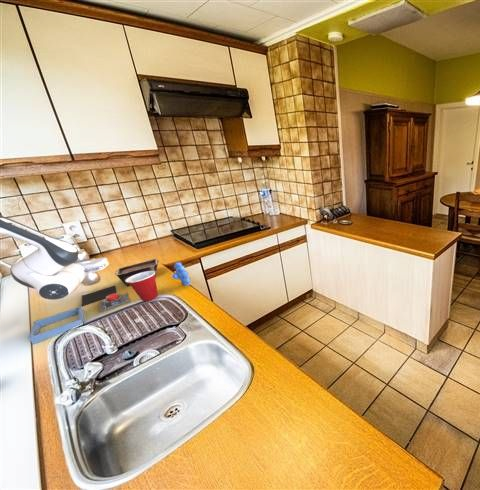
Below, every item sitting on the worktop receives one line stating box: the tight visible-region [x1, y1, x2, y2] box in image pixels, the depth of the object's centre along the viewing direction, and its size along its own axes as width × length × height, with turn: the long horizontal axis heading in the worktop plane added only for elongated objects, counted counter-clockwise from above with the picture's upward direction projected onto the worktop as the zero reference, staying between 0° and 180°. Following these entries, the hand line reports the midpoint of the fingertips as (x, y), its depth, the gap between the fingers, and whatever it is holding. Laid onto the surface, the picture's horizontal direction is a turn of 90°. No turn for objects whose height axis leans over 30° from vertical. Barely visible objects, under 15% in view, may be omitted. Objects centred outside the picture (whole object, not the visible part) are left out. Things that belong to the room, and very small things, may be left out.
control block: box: [98, 292, 131, 314], centre depth 119 cm, size 10×9×3 cm
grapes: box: [171, 261, 191, 287], centre depth 129 cm, size 12×7×12 cm, turn 50°
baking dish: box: [114, 258, 159, 287], centre depth 139 cm, size 14×18×10 cm
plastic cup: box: [125, 271, 159, 302], centre depth 120 cm, size 11×11×12 cm
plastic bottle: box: [71, 242, 101, 287], centre depth 120 cm, size 6×7×20 cm
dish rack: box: [28, 305, 85, 345], centre depth 106 cm, size 14×14×3 cm
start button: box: [106, 293, 118, 301], centre depth 118 cm, size 4×4×2 cm
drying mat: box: [81, 284, 118, 307], centre depth 126 cm, size 12×12×1 cm
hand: (82, 262), depth 120 cm, fingers closed on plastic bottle, 6 cm apart
